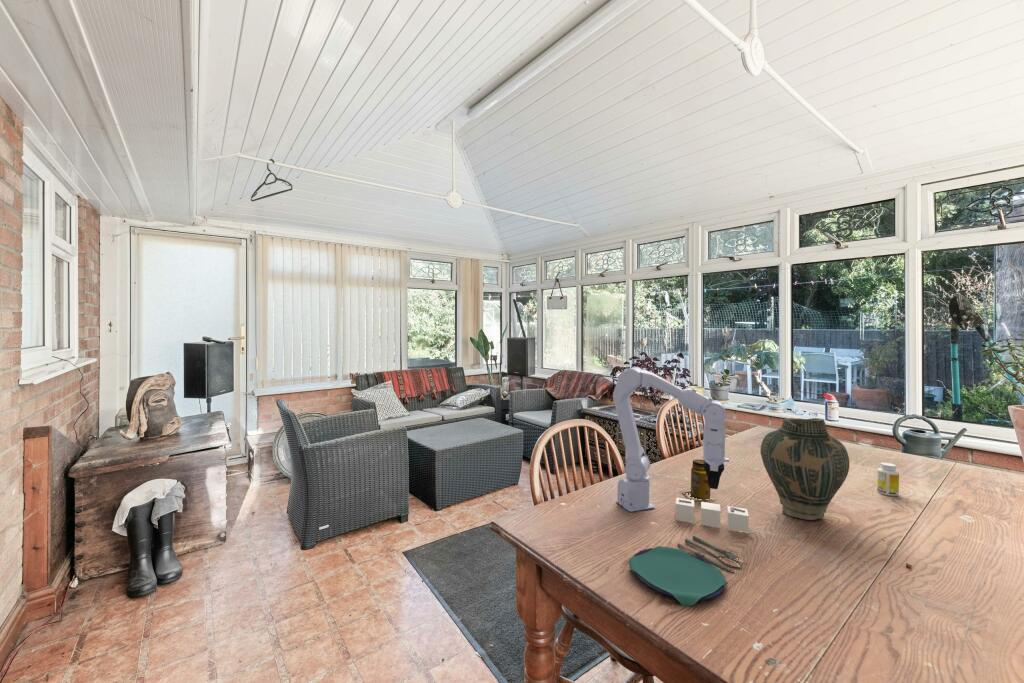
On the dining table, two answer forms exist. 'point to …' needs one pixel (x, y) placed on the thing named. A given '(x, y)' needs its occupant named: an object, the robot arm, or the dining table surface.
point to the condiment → (699, 482)
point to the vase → (804, 466)
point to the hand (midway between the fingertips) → (713, 488)
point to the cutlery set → (681, 572)
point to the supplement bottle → (888, 479)
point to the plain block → (710, 514)
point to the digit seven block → (737, 519)
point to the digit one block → (684, 510)
